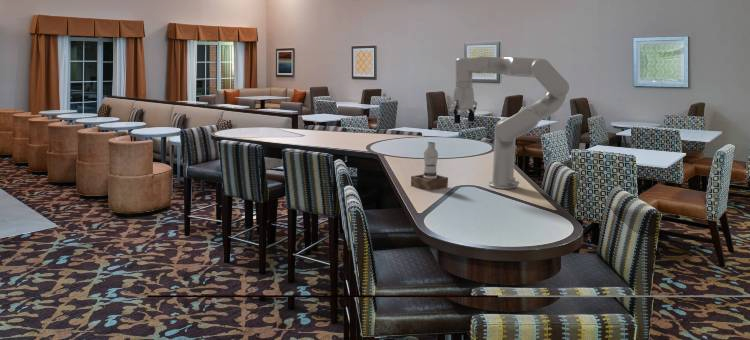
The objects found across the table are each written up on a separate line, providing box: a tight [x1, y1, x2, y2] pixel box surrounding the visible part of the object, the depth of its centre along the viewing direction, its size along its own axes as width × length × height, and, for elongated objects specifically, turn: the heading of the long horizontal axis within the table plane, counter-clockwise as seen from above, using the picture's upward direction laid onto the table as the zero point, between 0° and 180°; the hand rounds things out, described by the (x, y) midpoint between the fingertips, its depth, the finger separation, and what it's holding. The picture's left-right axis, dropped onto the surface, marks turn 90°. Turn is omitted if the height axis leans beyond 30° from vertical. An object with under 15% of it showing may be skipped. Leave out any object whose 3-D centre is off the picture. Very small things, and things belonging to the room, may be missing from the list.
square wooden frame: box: [410, 173, 449, 192], centre depth 266 cm, size 12×12×4 cm
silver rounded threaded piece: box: [423, 141, 439, 180], centre depth 264 cm, size 6×7×20 cm
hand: (464, 122), depth 266 cm, fingers open, 9 cm apart
